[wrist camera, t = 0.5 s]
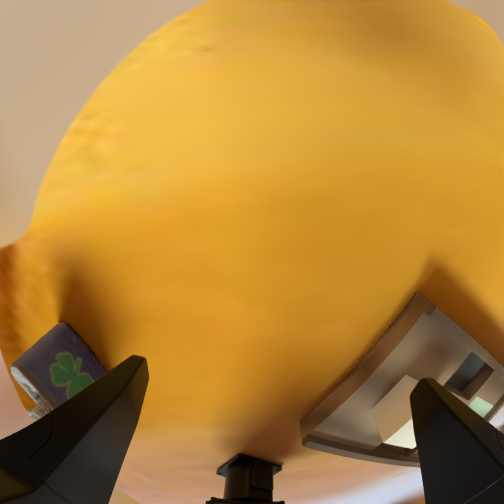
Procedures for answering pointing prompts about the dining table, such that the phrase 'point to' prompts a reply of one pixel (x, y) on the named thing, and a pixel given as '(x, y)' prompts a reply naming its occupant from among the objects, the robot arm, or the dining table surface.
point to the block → (396, 415)
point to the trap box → (392, 371)
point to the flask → (56, 369)
